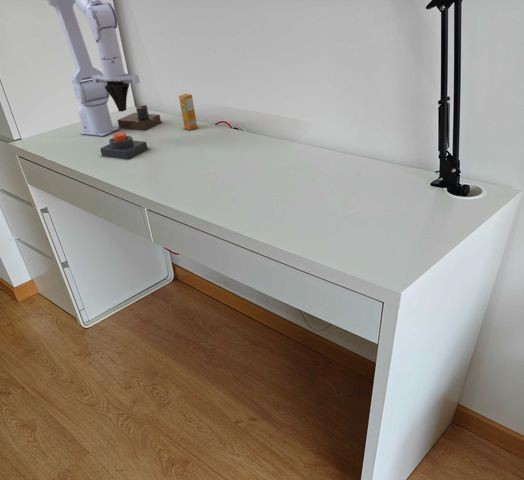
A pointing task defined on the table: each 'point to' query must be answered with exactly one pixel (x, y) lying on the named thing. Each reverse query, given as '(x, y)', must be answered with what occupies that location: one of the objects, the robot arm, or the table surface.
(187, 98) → the supplement box
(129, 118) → the brown wooden block
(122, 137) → the button
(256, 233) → the table surface
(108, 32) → the robot arm
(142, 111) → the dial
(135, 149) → the switch block
